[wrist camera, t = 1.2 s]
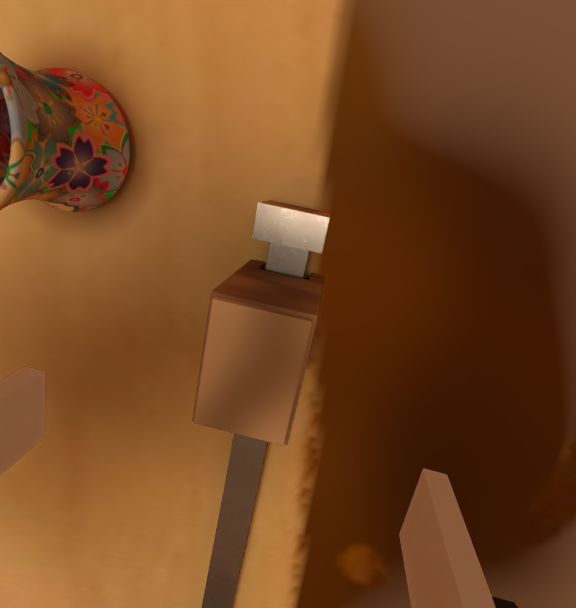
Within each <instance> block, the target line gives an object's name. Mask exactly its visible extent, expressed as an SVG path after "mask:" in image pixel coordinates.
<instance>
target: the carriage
mask: <svg viewBox="0 0 576 608" xmlns="http://www.w3.org/2000/svg"><path fill="white" fill-rule="evenodd" d="M263 266H264V262H259V261H255V260H250V261H249V262H248V263H246V264H245V265H244V266H243V267H241V268H240V269H239V270H238V271H236V272H235V273H234V274H233V275H231V276H230V277H229V278H228V279H226V280H225V281H224V282H223V283H222V284H220V285H219V286H218V287H217V288H215V289H214V290H213V291H212V293H211V299H210V306H209V313H208V319H207V326H206V333H205V339H204V346H203V353H202V359H201V366H200V373H199V379H198V386H197V393H196V399H195V406H194V413H193V419H192V421H194V423H196V424H200V425H204V426H208V427H212V428H216V429H220V430H224V431H228V432H232V433H236V434H240V435H244V436H248V437H252V438H256V439H260V440H264V441H268V442H272V443H276V444H280V445H284V444H286V445H288V441H289V437H290V432H291V428H292V424H293V420H294V415H295V411H296V407H297V403H298V399H299V394H300V390H301V386H302V382H303V377H304V373H305V369H306V365H307V361H308V356H309V352H310V348H311V344H312V339H313V335H314V331H315V327H316V323H317V318H318V313H319V307H320V301H321V294H322V288H323V282H324V276H322V275H317V274H313V273H311V275H310V278H309V280H307V279H302V278H298V277H293V276H289V275H285V274H280V273H276V272H271V271H267V270H263Z"/></svg>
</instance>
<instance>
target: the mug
mask: <svg viewBox="0 0 576 608" xmlns="http://www.w3.org/2000/svg"><path fill="white" fill-rule="evenodd" d="M129 161H130V141H129V135H128V131H127V127H126V124H125V121H124V118H123V116H122V114H121V112H120V110H119V108H118V107H117V105H116V103H115V102H114V101H113V99H112V98H111V97H110V95H109V94H108V93H107V92H106V91H105V90H104V89H103V88H102V87H101V86H100V85H99V84H97V83H96V82H95V81H93V80H92V79H91V78H89V77H87V76H85V75H83V74H81V73H79V72H76V71H73V70H69V69H63V68H49V69H43V70H39V71H37V72H34V71H30V70H28V69H25V68H23V67H21V66H19V65H17V64H16V63H14V62H12V61H11V60H9V59H8V58H7V57H5V56H4V55H3V54H2V53H1V52H0V210H1V209H3V208H4V207H6V206H8V205H10V204H12V203H15V202H18V201H22V200H28V199H37V200H40V201H41V202H43V203H45V204H47V205H49V206H51V207H54V208H57V209H60V210H64V211H70V212H81V211H87V210H91V209H94V208H96V207H98V206H100V205H102V204H104V203H105V202H107V201H108V200H109V199H111V198H112V197H113V196H114V195H115V193H116V192H117V191H118V190H119V188H120V186H121V185H122V183H123V181H124V179H125V176H126V174H127V170H128V166H129Z"/></svg>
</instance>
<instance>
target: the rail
mask: <svg viewBox="0 0 576 608" xmlns="http://www.w3.org/2000/svg"><path fill="white" fill-rule="evenodd" d="M330 216H331V213H326V212H322V211H317V210H313V209H308V208H303V207H299V206H294V205H289V204H285V203H280V202H275V201H271V200H269V201H263V202H258V207H257V213H256V218H255V224H254V230H253V236H252V238H253V239H258V240H262V241H267V242H270V248H269V253H268V258H267V264H266V269H265V270H267V271H271V272H276V273H280V274H285V275H289V276H293V277H298V278H302V279H304V276H305V271H306V267H307V262H308V257H309V253H310V251H312V252H317V253H322V250H323V246H324V242H325V237H326V233H327V229H328V224H329V220H330ZM267 445H268V441H264V440H260V439H256V438H252V437H248V436H244V435H240V434H236V433H235V434H234V439H233V444H232V450H231V455H230V460H229V466H228V471H227V476H226V481H225V487H224V492H223V497H222V503H221V508H220V513H219V519H218V524H217V529H216V535H215V540H214V545H213V551H212V556H211V561H210V566H209V572H208V577H207V582H206V588H205V593H204V598H203V604H202V608H232V604H233V600H234V595H235V591H236V586H237V582H238V577H239V572H240V568H241V563H242V559H243V554H244V550H245V545H246V540H247V536H248V531H249V527H250V522H251V518H252V513H253V508H254V504H255V499H256V495H257V490H258V486H259V481H260V477H261V472H262V467H263V463H264V458H265V454H266V449H267Z"/></svg>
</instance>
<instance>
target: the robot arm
mask: <svg viewBox="0 0 576 608" xmlns="http://www.w3.org/2000/svg"><path fill="white" fill-rule="evenodd" d="M45 376H46V372H45V371H41V370H37V369H33V368H29V367H23V368H21V369H20V370H18V371H16V372H14V373H12V374H11V375H9V376H7V377H5V378H3V379H1V380H0V475H1V474H2V473H3V472H4V471H5V470H7V469H8V468H9V467H10V466H11V465H13V464H14V463H15V462H16V461H17V460H19V459H20V458H21V457H22V456H24V455H25V454H26V453H27V452H28V451H30V450H31V449H32V448H33V447H34V446H36V445H37V444H38V443H39V442H40V441H42V440H43V439H44V418H45ZM399 535H400V541H401V547H402V553H403V559H404V565H405V571H406V577H407V583H408V589H409V595H410V601H411V608H518V607H517V606H516V605H515V603H514V602H511V601H507V600H503V599H500V598H496V597H492V596H491V594H490V591H489V588H488V586H487V583H486V580H485V578H484V575H483V572H482V569H481V566H480V564H479V561H478V558H477V556H476V553H475V550H474V548H473V545H472V542H471V539H470V536H469V534H468V531H467V528H466V526H465V523H464V520H463V517H462V515H461V512H460V509H459V506H458V504H457V501H456V498H455V496H454V493H453V490H452V487H451V485H450V482H449V479H448V477H447V475H446V474H442V473H438V472H434V471H431V470H427V469H423V470H422V473H421V476H420V479H419V482H418V485H417V487H416V490H415V493H414V495H413V498H412V501H411V504H410V506H409V509H408V512H407V515H406V518H405V520H404V523H403V526H402V528H401V531H400V534H399Z"/></svg>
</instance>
